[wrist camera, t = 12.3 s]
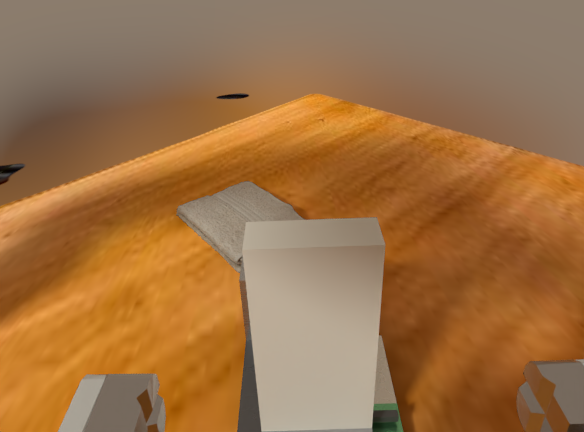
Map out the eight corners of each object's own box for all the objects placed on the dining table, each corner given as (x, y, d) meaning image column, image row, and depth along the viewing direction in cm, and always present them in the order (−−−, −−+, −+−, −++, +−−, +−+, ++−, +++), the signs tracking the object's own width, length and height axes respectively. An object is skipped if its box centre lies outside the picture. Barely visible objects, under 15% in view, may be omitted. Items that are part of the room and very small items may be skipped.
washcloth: (241, 280, 57) (239, 258, 55) (173, 219, 69) (170, 200, 68) (321, 243, 63) (321, 222, 61) (245, 193, 75) (243, 174, 74)
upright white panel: (407, 461, 35) (433, 264, 26) (261, 465, 35) (239, 271, 26) (387, 371, 41) (403, 192, 33) (265, 375, 42) (249, 198, 33)
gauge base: (449, 663, 27) (473, 588, 22) (218, 668, 27) (197, 596, 23) (369, 298, 53) (373, 231, 48) (252, 302, 53) (245, 235, 48)
